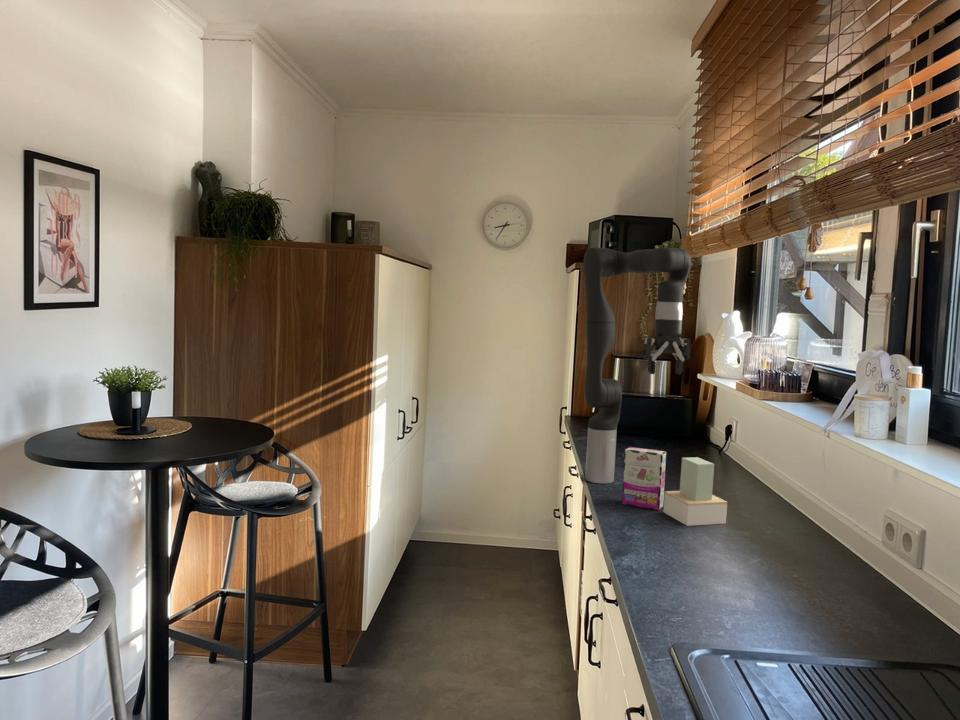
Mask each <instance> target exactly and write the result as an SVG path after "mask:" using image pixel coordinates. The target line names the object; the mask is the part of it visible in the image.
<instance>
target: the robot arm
mask: <svg viewBox="0 0 960 720" xmlns="http://www.w3.org/2000/svg"><path fill="white" fill-rule="evenodd" d="M583 256H584V257H583V261H582V262H583V265H582V267H583V268H582V269H583V277H584V287H585V302H586V305H585V306H586V318H585V319H586V320H585V321H586V322H585V323H586V326H585V327H586V331H585V333H586V365H585V367H586V368H585V377H584V378H585V379H584V399H585V402H586V404H587V406H588V407H590V408H592V409H593V408H594V409H596V408H597V409H598V408H600V411H599V412H597V414H595V415H593V416H591V417H589V419H588V421H587V422H588V424H587V440H586V441H587V442H586V455H585V472H584V474H585V475H584V478H585V481H586V482H590V483H593V484H594V483H595V484H611V483H614V482H615V469H616V466H615V465H616V448H617V435H618V434H617V430H618V424H619V422H620V416H621V408H622V400H623V399H622V398H623V390H622V386H621V384H620V382H619V381H618V380H617V379H616V378H603V368H604V367H603V366H604V363H605V360H606V358H607V356H608V354H609V352H610V350H611V349H612V346H613V345H614V344H615V343H614V342H615V339H616V316H615V313H614V311H613V308H612V306H611V304H610V303H609V301H608V300H607V298H606V295H605V293H604V290H603V289H604V288H603V283H602V282H603V281H602V279H603V278H611V277H615V276H619V275H622V274H627V273H635V274H653V273H654V274H655V273H669V276H668V279H667V280H663V281H661V282H660V283H658V287H657V298H656V299H657V302H656V308H655V316H654V317H655V318H654V320H655V321H654V330H653V331H654V336H653V338H650V337H644V338H643V343H642V344H643V346H642V354H641V357H642V359H645V360H647V372H648V373H649V374H650V375H655V374H656V366H657V365H656V363H657V362H656V360H657V358H658V357H659V356H660V355H662V354H672V355H673V356H674V358H675V360H676V361H675V370H674V373H675V375H681V374H682V373H683V371H684V362H685V361H686V360H690V359H691V339H690V338H685V337H684V338H681V334H682V329H683V326H682V325H683V316H684V315H683V312H684V311H683V310H684V309H683V298H684V287H685V284H686V282H687V279H688V276H689V273H690V270H691V267H692V266H691V265H692V258H691V254H690V253H689V251H688V250H687V249H684V248H677V247H658V248H657V247H656V248H647V249H636V250H634V251H629V252H627V251H626V252H625V251H619V250H615V249H612V248H607V247H605V248H604V247H589V248H588V249H586V251H585V253H584V255H583ZM653 345H654V347H653V348H652V346H653ZM680 346H681V349H680V348H679V347H680ZM651 348H652V349H651Z"/></svg>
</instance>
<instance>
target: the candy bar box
mask: <svg viewBox="0 0 960 720" xmlns="http://www.w3.org/2000/svg"><path fill="white" fill-rule="evenodd" d="M623 457H624V459H623V477H622V492H621V493H622V494H621V505H625V506H630V507H636V508H637V507H638V508H642V509H643V508H644V509H648V510H654V511H660V510H661V509H663V508H664V496H665V484H666V483H665V482H666V481H665V480H666V461H667V451H666V450H665V451H664V450H658V449H649V448H642V447H634V446H633V447H632V446H628V447H627V448H625V449H624V456H623Z"/></svg>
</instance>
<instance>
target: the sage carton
mask: <svg viewBox="0 0 960 720" xmlns="http://www.w3.org/2000/svg"><path fill="white" fill-rule="evenodd" d="M680 465H681V466H680V467H681V468H680V479H679V491H680V493H681V494H683V495H685V496H687V497H689V498H691V499H693V500H695V501H707V500H712V495H713V488H714V487H713V486H714V477H715V475H714V474H715V463H713V462H710V461H708V460H705V459H703V458H700V457H698V456H696V457H694V456H693V457H681V464H680Z"/></svg>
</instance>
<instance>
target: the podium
mask: <svg viewBox="0 0 960 720" xmlns="http://www.w3.org/2000/svg"><path fill="white" fill-rule="evenodd" d="M727 511H728V501H726V500H724V499H722V498H721V497H718V496H717V495H715V494H712V500H707V501H695V500H693V499H691V498H689V497H687V496H685V495H683V494H681V493H680V490H670V491H669V490H664V502H663V513H664V514H666V515H667V516H670V517H671V518H672V519H674V520H676V521H678V522H680V523H681V524H683V525H685V526H687V527H688V526H704V525H706V526H707V525H720V524H721V525H724V524H726V523H727Z"/></svg>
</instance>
